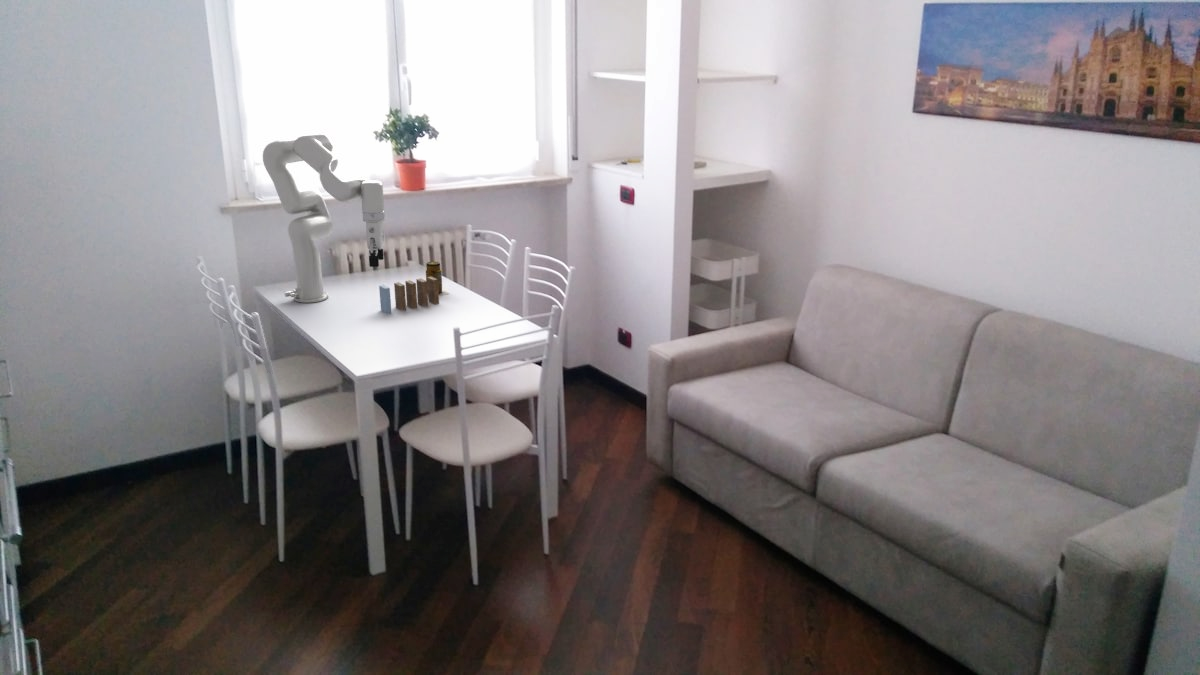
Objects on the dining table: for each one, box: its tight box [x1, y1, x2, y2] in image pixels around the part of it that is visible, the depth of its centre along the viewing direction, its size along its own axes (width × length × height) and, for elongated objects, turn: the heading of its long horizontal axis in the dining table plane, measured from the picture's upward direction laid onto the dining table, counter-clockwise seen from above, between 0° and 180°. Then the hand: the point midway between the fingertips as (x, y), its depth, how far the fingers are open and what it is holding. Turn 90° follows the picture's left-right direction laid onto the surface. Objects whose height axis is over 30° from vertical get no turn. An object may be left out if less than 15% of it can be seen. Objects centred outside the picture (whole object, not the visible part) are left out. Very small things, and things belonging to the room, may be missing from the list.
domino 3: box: [404, 279, 418, 310], centre depth 341 cm, size 2×5×10 cm, turn 38°
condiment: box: [425, 261, 449, 296], centre depth 358 cm, size 7×8×12 cm
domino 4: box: [415, 278, 429, 307], centre depth 344 cm, size 2×5×10 cm, turn 37°
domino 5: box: [427, 276, 440, 305], centre depth 347 cm, size 2×5×10 cm, turn 37°
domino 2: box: [393, 281, 407, 312], centre depth 339 cm, size 2×5×10 cm, turn 37°
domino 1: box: [378, 284, 392, 315], centre depth 335 cm, size 2×5×10 cm, turn 37°
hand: (376, 263), depth 330 cm, fingers open, 9 cm apart
